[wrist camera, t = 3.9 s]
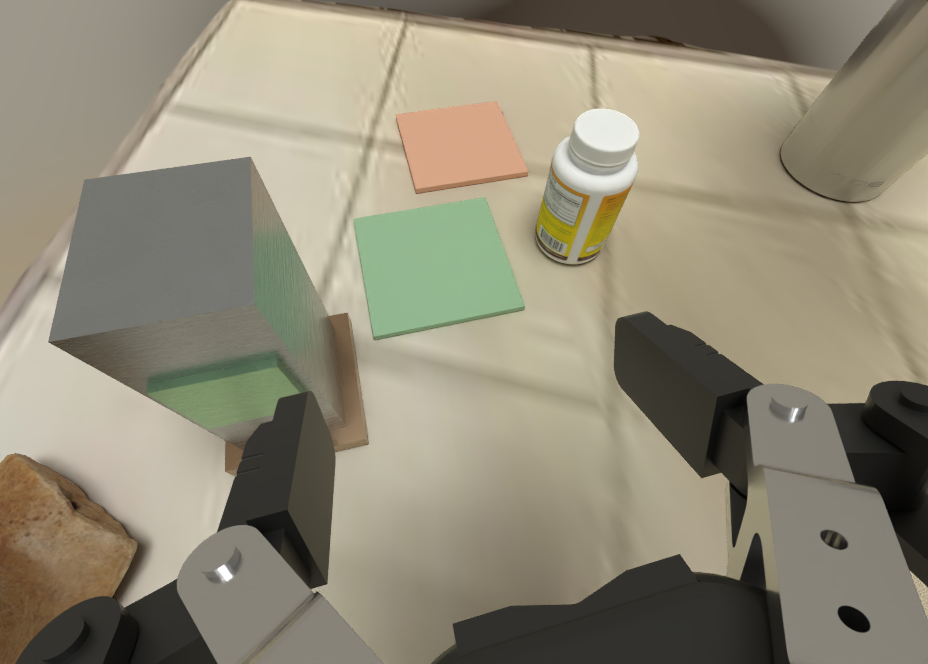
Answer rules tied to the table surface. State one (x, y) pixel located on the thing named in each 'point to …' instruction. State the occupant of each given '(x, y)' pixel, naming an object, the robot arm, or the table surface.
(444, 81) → the table surface
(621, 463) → the table surface
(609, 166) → the supplement bottle
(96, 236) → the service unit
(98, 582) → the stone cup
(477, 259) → the green pad
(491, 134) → the terracotta pad
